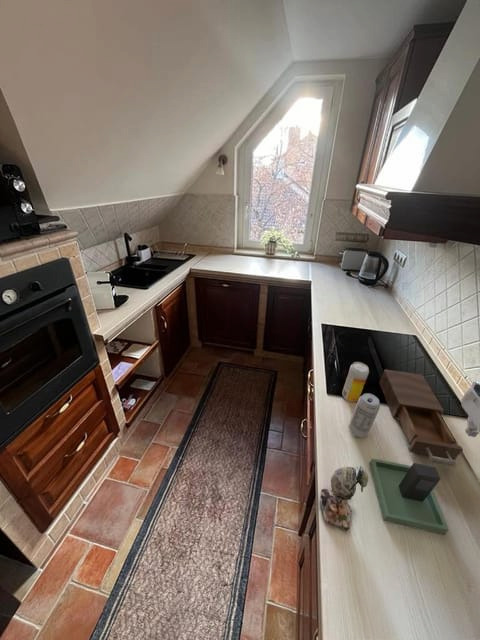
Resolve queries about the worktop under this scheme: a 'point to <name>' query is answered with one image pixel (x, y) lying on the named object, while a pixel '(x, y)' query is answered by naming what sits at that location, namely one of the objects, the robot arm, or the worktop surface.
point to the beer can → (355, 381)
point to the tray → (404, 499)
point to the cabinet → (408, 392)
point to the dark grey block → (419, 482)
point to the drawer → (428, 435)
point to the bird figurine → (342, 495)
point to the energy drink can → (364, 415)
